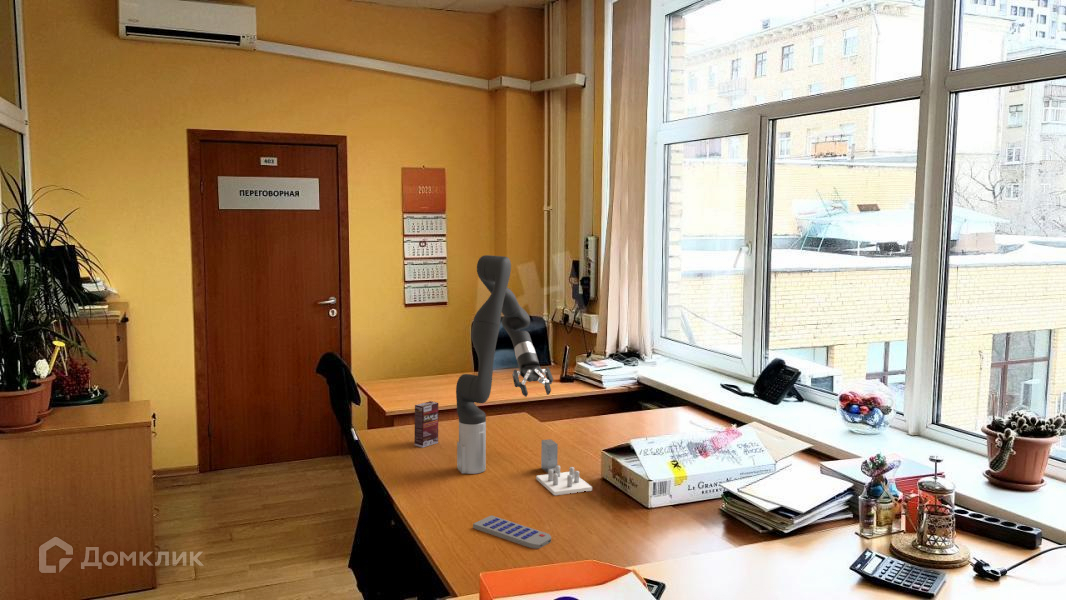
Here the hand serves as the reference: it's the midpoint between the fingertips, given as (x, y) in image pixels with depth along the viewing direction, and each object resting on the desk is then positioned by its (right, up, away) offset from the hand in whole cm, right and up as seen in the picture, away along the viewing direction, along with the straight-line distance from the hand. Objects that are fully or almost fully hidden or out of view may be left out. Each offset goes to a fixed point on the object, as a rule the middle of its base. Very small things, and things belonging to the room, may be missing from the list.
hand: (537, 394), depth 277 cm
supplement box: (-42, -22, +20) cm, 52 cm away
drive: (+4, -25, -8) cm, 27 cm away
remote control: (-8, -32, -61) cm, 70 cm away
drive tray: (+8, -27, -22) cm, 36 cm away
